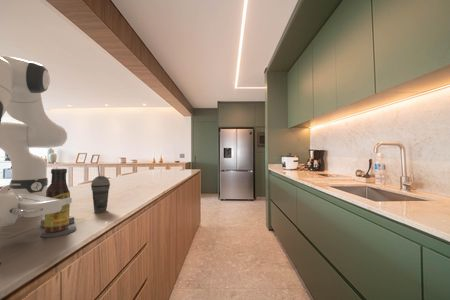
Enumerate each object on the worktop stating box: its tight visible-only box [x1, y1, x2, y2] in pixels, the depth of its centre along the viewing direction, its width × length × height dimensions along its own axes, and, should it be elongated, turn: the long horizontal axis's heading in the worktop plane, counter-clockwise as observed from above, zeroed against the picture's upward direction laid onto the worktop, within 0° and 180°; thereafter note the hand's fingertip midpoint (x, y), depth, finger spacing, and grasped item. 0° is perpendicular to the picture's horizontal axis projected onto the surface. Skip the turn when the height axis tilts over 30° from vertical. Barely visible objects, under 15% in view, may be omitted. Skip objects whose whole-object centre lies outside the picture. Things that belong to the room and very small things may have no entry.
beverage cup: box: [90, 165, 111, 214], centre depth 90 cm, size 7×7×20 cm
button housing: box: [40, 215, 75, 228], centre depth 74 cm, size 7×7×2 cm
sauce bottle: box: [43, 167, 71, 233], centre depth 67 cm, size 6×6×20 cm
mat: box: [39, 224, 77, 239], centre depth 67 cm, size 9×9×1 cm
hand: (62, 198), depth 67 cm, fingers open, 8 cm apart
